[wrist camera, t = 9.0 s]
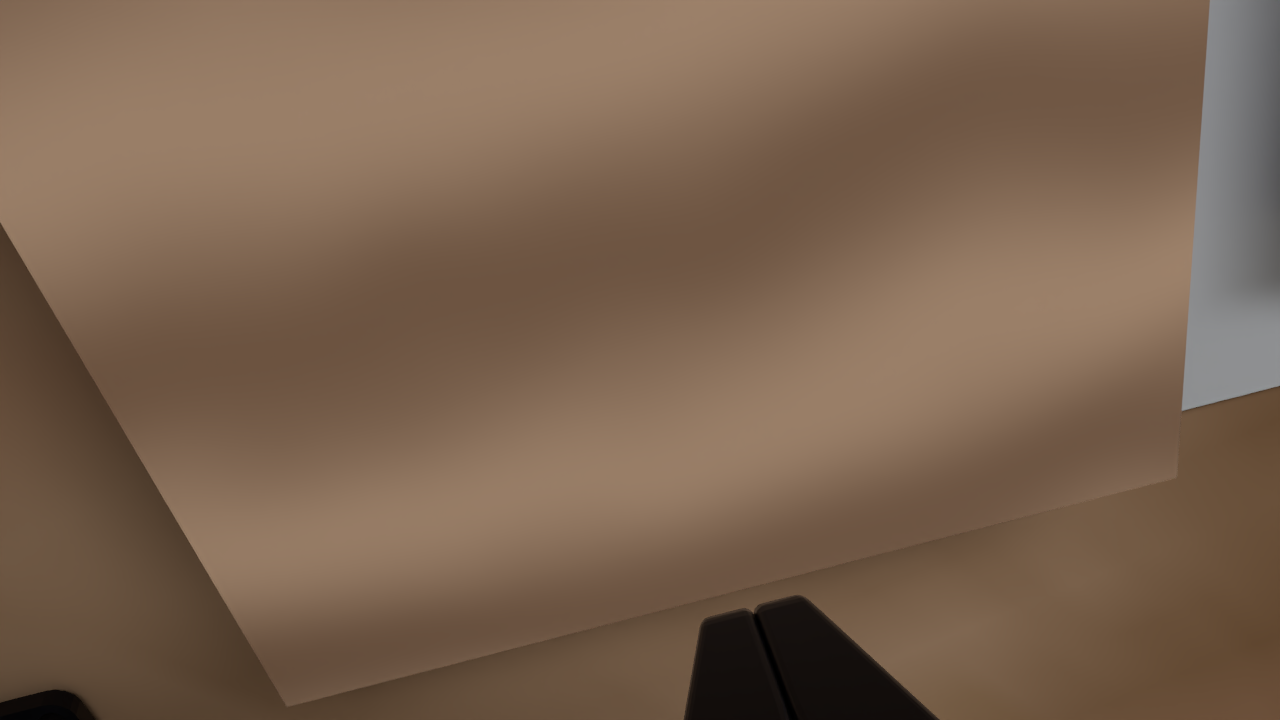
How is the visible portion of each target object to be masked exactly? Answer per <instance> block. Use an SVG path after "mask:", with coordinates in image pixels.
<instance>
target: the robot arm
mask: <svg viewBox="0 0 1280 720" xmlns="http://www.w3.org/2000/svg"><path fill="white" fill-rule="evenodd" d="M53 713H56V714H53ZM0 720H95V719H94V718H93V716H92V715H91V714H90V712H89V711H88V709H87V708H86V707H85V705H84V704H83V703H82V701H81V700H80V699H79V698H78V697H76V696H75V695H74V694H71V693H69V692H66V691H60V690H50V691H44V692H40V693H36V694H33V695H29V696H25V697H21V698H17V699H13V700H9V701H5V702H1V703H0ZM684 720H939V719H938V718H937V717H936V716H935V715H934V714H933V713H932V712H931V711H929V710H928V709H927V708H926V707H925V706H924V705H923V704H922V703H921V702H920V701H919V700H917V699H916V698H915V697H914V696H913V695H912V694H911V693H910V692H909V691H908V690H907V689H905V688H904V687H903V686H902V685H901V684H900V683H899V682H898V681H897V680H896V679H895V678H893V677H892V676H891V675H890V674H889V673H888V672H887V671H886V670H885V669H884V668H883V667H881V666H880V665H879V664H878V663H877V662H876V661H875V660H874V659H873V658H872V657H871V656H870V655H868V654H867V653H866V652H865V651H864V650H863V649H862V648H861V647H860V646H859V645H858V644H856V643H855V642H854V641H853V640H852V639H851V638H850V637H849V636H848V635H847V634H846V633H844V632H843V631H842V630H841V629H840V628H839V627H838V626H837V625H836V624H835V623H834V622H832V621H831V620H830V619H829V618H828V617H827V616H826V615H825V614H824V613H823V612H822V611H820V610H819V609H818V608H817V607H816V606H815V605H814V604H813V603H812V602H811V601H809V600H808V599H807V598H805V597H804V596H800V595H794V596H790V597H786V598H782V599H778V600H774V601H770V602H766V603H762V604H759V605H758V606H757V607H756V608H755V610H754V614H753V613H752V612H751V611H750V610H749V609H746V608H743V609H738V610H734V611H730V612H726V613H722V614H718V615H714V616H710V617H707V618H705V619H704V620H703V622H702V623H701V626H700V629H699V635H698V641H697V646H696V652H695V658H694V664H693V669H692V675H691V681H690V687H689V692H688V698H687V704H686V710H685V715H684Z"/></svg>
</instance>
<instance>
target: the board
mask: <svg viewBox="0 0 1280 720" xmlns="http://www.w3.org/2000/svg"><path fill="white" fill-rule="evenodd" d="M1209 7H1210V0H0V223H1V224H2V226H3V228H4V229H5V231H6V233H7V235H8V236H9V238H10V240H11V241H12V243H13V245H14V246H15V248H16V250H17V251H18V253H19V255H20V257H21V258H22V260H23V262H24V263H25V265H26V267H27V268H28V270H29V272H30V273H31V275H32V277H33V279H34V280H35V282H36V284H37V285H38V287H39V289H40V290H41V292H42V294H43V295H44V297H45V299H46V301H47V302H48V304H49V306H50V307H51V309H52V311H53V312H54V314H55V316H56V317H57V319H58V321H59V323H60V324H61V326H62V328H63V329H64V331H65V333H66V334H67V336H68V338H69V339H70V341H71V343H72V345H73V346H74V348H75V350H76V351H77V353H78V355H79V356H80V358H81V360H82V361H83V363H84V365H85V367H86V368H87V370H88V372H89V373H90V375H91V377H92V378H93V380H94V382H95V383H96V385H97V387H98V389H99V390H100V392H101V394H102V395H103V397H104V399H105V400H106V402H107V404H108V405H109V407H110V409H111V411H112V412H113V414H114V416H115V417H116V419H117V421H118V422H119V424H120V426H121V427H122V429H123V431H124V433H125V434H126V436H127V438H128V439H129V441H130V443H131V444H132V446H133V448H134V449H135V451H136V453H137V455H138V456H139V458H140V460H141V461H142V463H143V465H144V466H145V468H146V470H147V471H148V473H149V475H150V477H151V478H152V480H153V482H154V483H155V485H156V487H157V488H158V490H159V492H160V493H161V495H162V497H163V499H164V500H165V502H166V504H167V505H168V507H169V509H170V510H171V512H172V514H173V515H174V517H175V519H176V521H177V522H178V524H179V526H180V527H181V529H182V531H183V532H184V534H185V536H186V537H187V539H188V541H189V543H190V544H191V546H192V548H193V549H194V551H195V553H196V554H197V556H198V558H199V559H200V561H201V563H202V565H203V566H204V568H205V570H206V571H207V573H208V575H209V576H210V578H211V580H212V581H213V583H214V585H215V587H216V588H217V590H218V592H219V593H220V595H221V597H222V598H223V600H224V602H225V603H226V605H227V607H228V609H229V610H230V612H231V614H232V615H233V617H234V619H235V620H236V622H237V624H238V625H239V627H240V629H241V631H242V632H243V634H244V636H245V637H246V639H247V641H248V642H249V644H250V646H251V647H252V649H253V651H254V653H255V654H256V656H257V658H258V659H259V661H260V663H261V664H262V666H263V668H264V669H265V671H266V673H267V675H268V676H269V678H270V680H271V681H272V683H273V685H274V686H275V688H276V690H277V691H278V693H279V695H280V697H281V698H282V700H283V702H284V703H285V705H286V707H289V706H293V705H297V704H301V703H305V702H309V701H313V700H317V699H320V698H324V697H328V696H332V695H336V694H340V693H344V692H348V691H351V690H355V689H359V688H363V687H367V686H371V685H375V684H379V683H383V682H386V681H390V680H394V679H398V678H402V677H406V676H410V675H414V674H417V673H421V672H425V671H429V670H433V669H437V668H441V667H445V666H448V665H452V664H456V663H460V662H464V661H468V660H472V659H476V658H480V657H483V656H487V655H491V654H495V653H499V652H503V651H507V650H511V649H514V648H518V647H522V646H526V645H530V644H534V643H538V642H542V641H545V640H549V639H553V638H557V637H561V636H565V635H569V634H573V633H577V632H580V631H584V630H588V629H592V628H596V627H600V626H604V625H608V624H611V623H615V622H619V621H623V620H627V619H631V618H635V617H639V616H643V615H646V614H650V613H654V612H658V611H662V610H666V609H670V608H674V607H677V606H681V605H685V604H689V603H693V602H697V601H701V600H705V599H708V598H712V597H716V596H720V595H724V594H728V593H732V592H736V591H740V590H743V589H747V588H751V587H755V586H759V585H763V584H767V583H771V582H774V581H778V580H782V579H786V578H790V577H794V576H798V575H802V574H805V573H809V572H813V571H817V570H821V569H825V568H829V567H833V566H837V565H840V564H844V563H848V562H852V561H856V560H860V559H864V558H868V557H871V556H875V555H879V554H883V553H887V552H891V551H895V550H899V549H903V548H906V547H910V546H914V545H918V544H922V543H926V542H930V541H934V540H937V539H941V538H945V537H949V536H953V535H957V534H961V533H965V532H968V531H972V530H976V529H980V528H984V527H988V526H992V525H996V524H1000V523H1003V522H1007V521H1011V520H1015V519H1019V518H1023V517H1027V516H1031V515H1034V514H1038V513H1042V512H1046V511H1050V510H1054V509H1058V508H1062V507H1065V506H1069V505H1073V504H1077V503H1081V502H1085V501H1089V500H1093V499H1097V498H1100V497H1104V496H1108V495H1112V494H1116V493H1120V492H1124V491H1128V490H1131V489H1135V488H1139V487H1143V486H1147V485H1151V484H1155V483H1159V482H1163V481H1166V480H1170V479H1174V478H1177V470H1178V456H1179V441H1180V427H1181V412H1182V398H1183V383H1184V369H1185V354H1186V340H1187V325H1188V311H1189V296H1190V282H1191V267H1192V253H1193V238H1194V224H1195V209H1196V195H1197V180H1198V166H1199V151H1200V137H1201V123H1202V108H1203V94H1204V79H1205V65H1206V50H1207V36H1208V21H1209Z"/></svg>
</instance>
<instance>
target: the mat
mask: <svg viewBox="0 0 1280 720" xmlns="http://www.w3.org/2000/svg"><path fill="white" fill-rule="evenodd" d="M1277 386H1280V0H1210V7H1209V21H1208V36H1207V50H1206V65H1205V79H1204V94H1203V108H1202V123H1201V137H1200V151H1199V166H1198V180H1197V195H1196V209H1195V224H1194V238H1193V253H1192V267H1191V282H1190V296H1189V311H1188V325H1187V340H1186V354H1185V369H1184V383H1183V398H1182V411H1183V410H1187V409H1191V408H1195V407H1199V406H1203V405H1207V404H1211V403H1215V402H1218V401H1222V400H1226V399H1230V398H1234V397H1238V396H1242V395H1246V394H1249V393H1253V392H1257V391H1261V390H1265V389H1269V388H1273V387H1277Z"/></svg>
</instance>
